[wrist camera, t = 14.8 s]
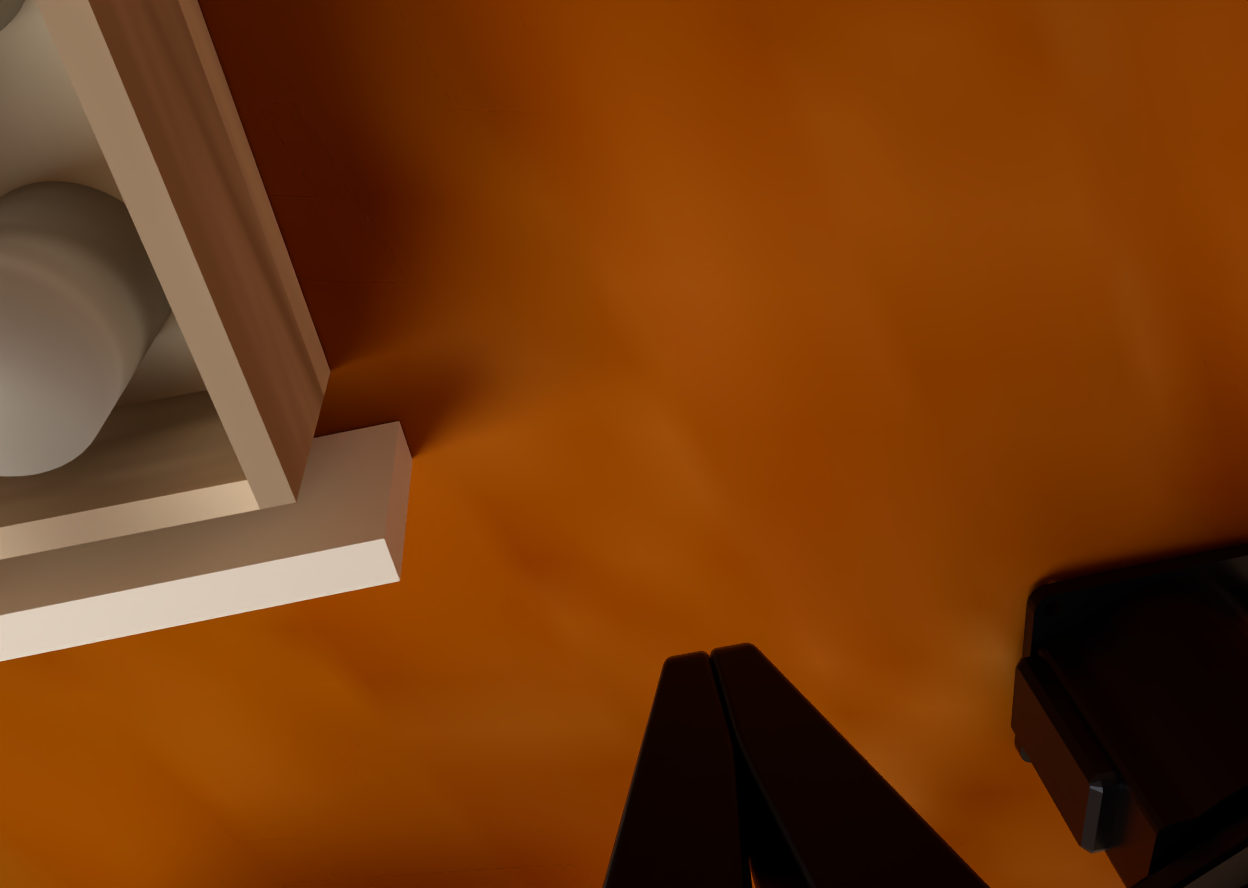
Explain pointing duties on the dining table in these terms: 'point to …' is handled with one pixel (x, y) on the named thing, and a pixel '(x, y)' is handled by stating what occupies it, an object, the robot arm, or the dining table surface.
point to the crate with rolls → (138, 284)
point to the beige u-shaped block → (222, 555)
